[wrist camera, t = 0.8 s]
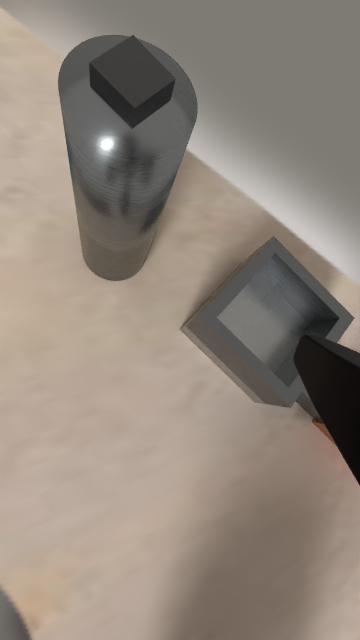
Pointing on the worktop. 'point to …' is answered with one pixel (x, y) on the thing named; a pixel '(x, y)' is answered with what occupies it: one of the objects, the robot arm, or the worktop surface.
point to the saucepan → (267, 326)
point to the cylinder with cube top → (123, 144)
